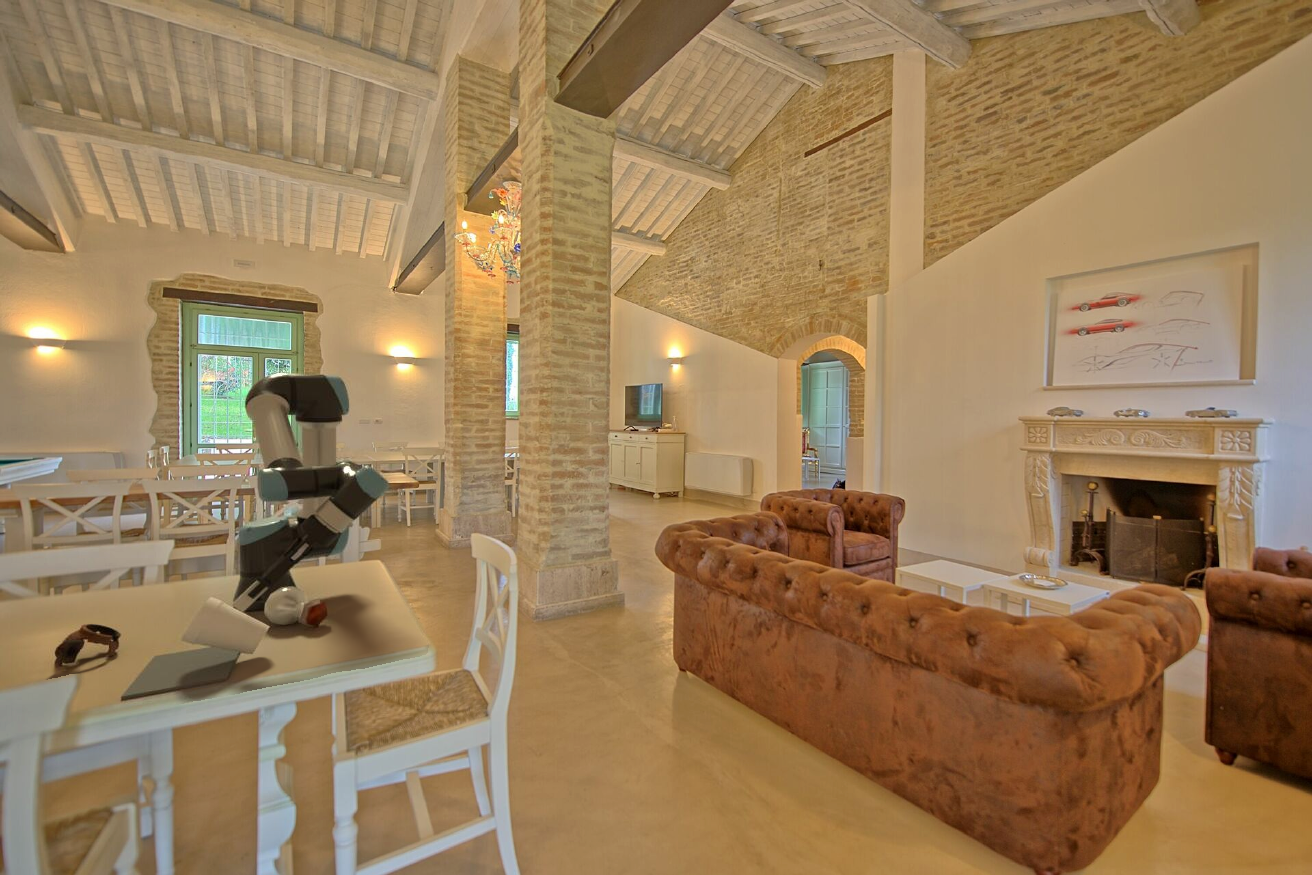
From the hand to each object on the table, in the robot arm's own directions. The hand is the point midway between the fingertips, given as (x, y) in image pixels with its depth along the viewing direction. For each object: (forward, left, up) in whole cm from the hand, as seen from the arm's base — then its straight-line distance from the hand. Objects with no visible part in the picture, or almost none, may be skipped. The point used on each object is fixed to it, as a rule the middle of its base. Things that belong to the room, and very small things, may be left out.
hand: (237, 607), depth 122 cm
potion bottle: (-13, +18, -12) cm, 25 cm away
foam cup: (+1, +4, -8) cm, 9 cm away
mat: (-5, -7, -12) cm, 15 cm away
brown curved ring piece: (-31, -18, -12) cm, 37 cm away
